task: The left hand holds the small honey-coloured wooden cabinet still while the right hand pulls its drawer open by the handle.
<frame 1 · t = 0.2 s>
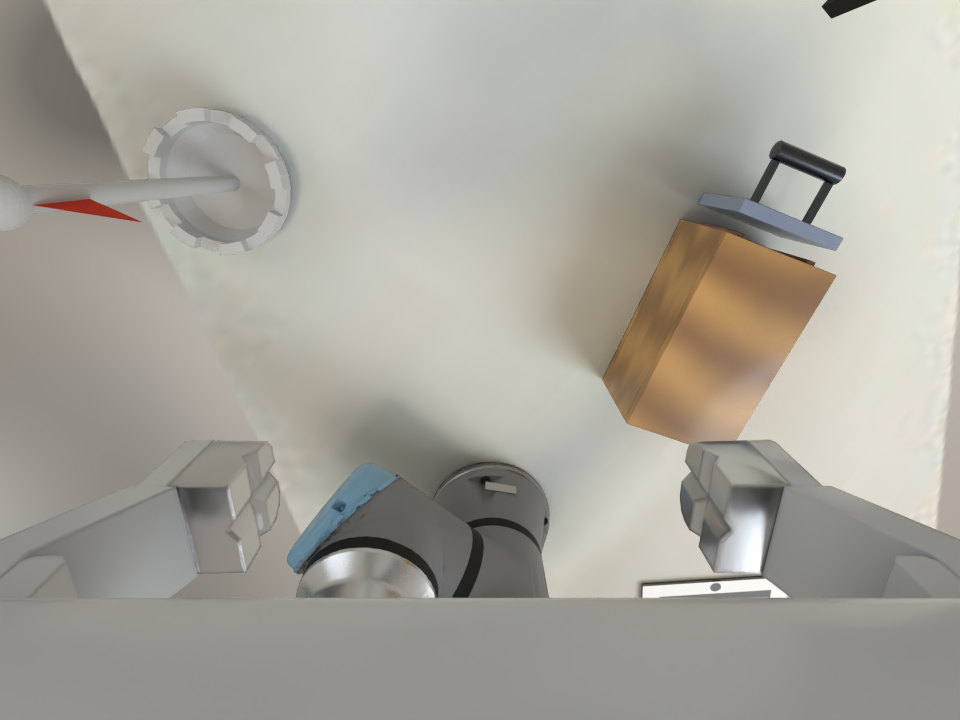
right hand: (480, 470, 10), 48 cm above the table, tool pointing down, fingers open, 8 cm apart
tablet: (705, 661, 78), on the table
drawer: (734, 276, 52), point 5 cm above the table, slide at 1.9 cm
flag stand: (237, 182, 54), on the table
cabinet: (683, 320, 59), on the table
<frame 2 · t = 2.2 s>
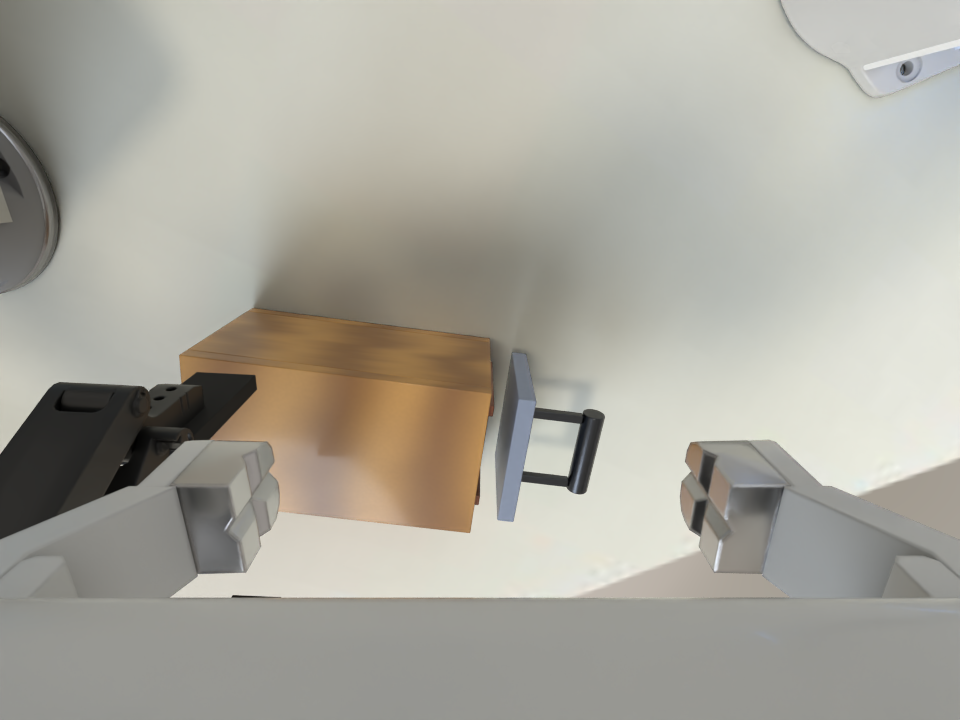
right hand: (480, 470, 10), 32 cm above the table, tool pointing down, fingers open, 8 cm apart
drawer: (438, 423, 40), point 6 cm above the table, slide at 1.9 cm
cabinet: (368, 383, 45), on the table
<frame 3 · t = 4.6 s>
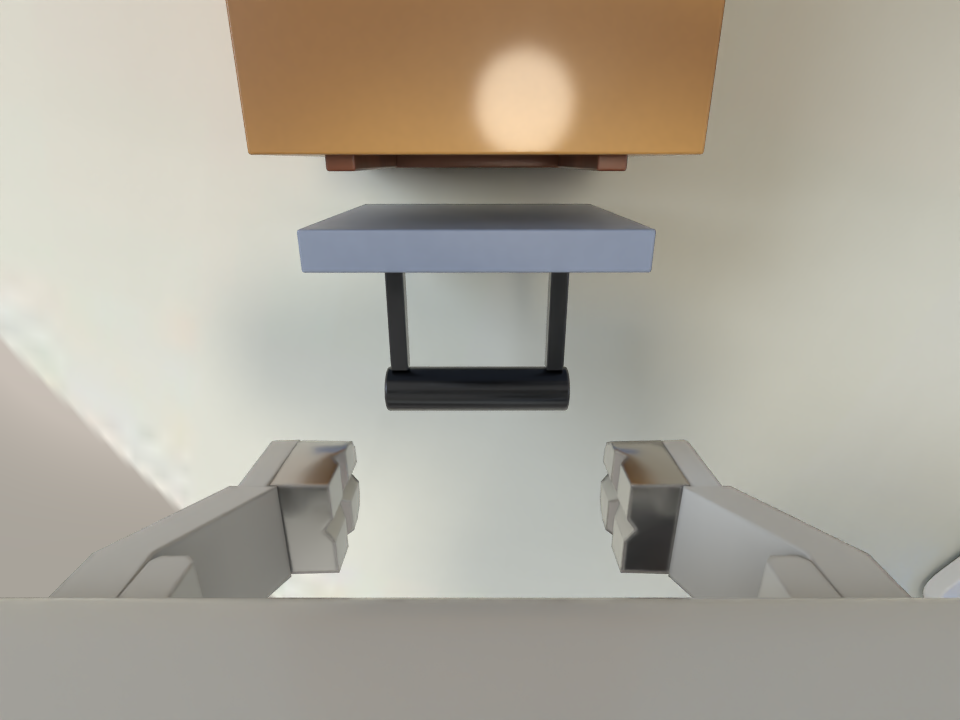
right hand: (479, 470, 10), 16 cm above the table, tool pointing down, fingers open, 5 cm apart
drawer: (476, 45, 17), point 6 cm above the table, slide at 1.9 cm
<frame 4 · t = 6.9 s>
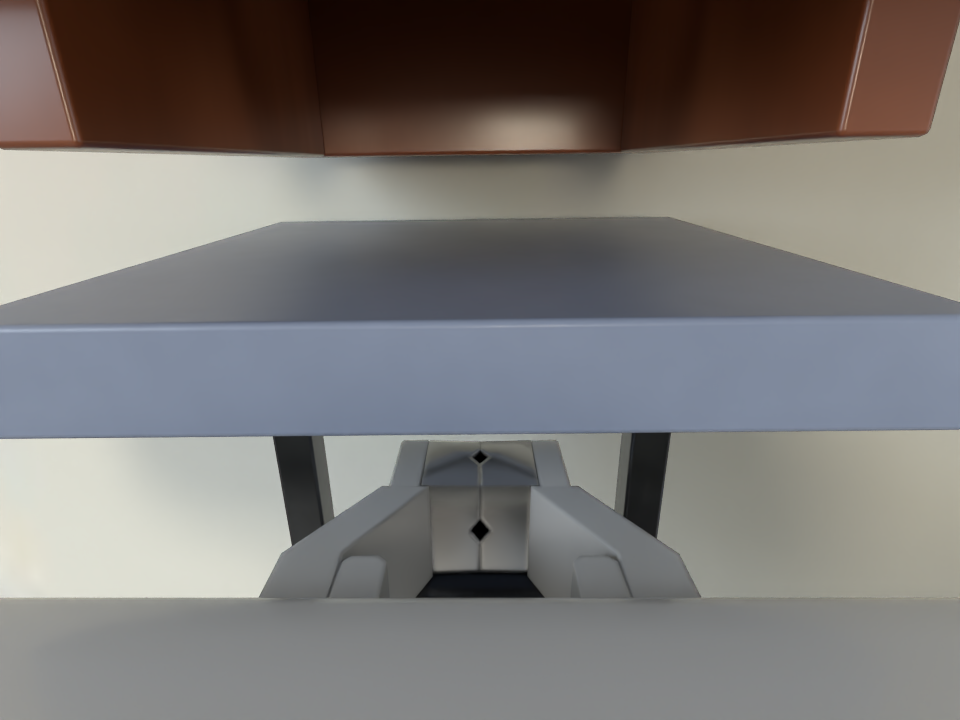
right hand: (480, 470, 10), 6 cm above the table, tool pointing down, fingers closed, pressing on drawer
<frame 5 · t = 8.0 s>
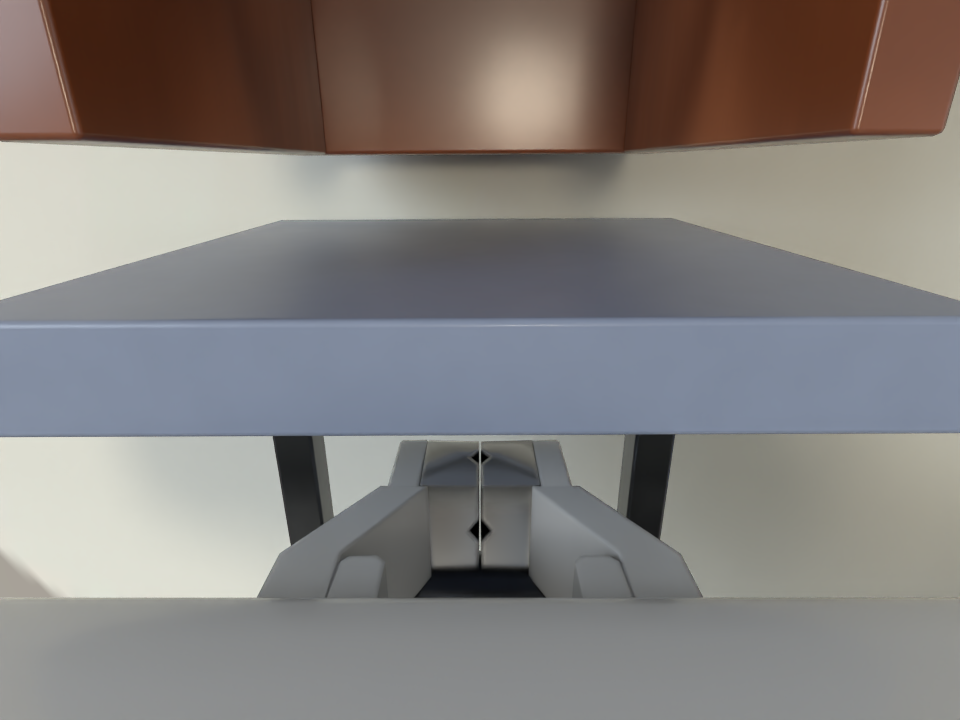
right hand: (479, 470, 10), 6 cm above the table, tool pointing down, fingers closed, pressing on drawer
when the left hand's fingers open (6 cm above the table, at t = 9.9 s): cabinet stays where it is, on the table.
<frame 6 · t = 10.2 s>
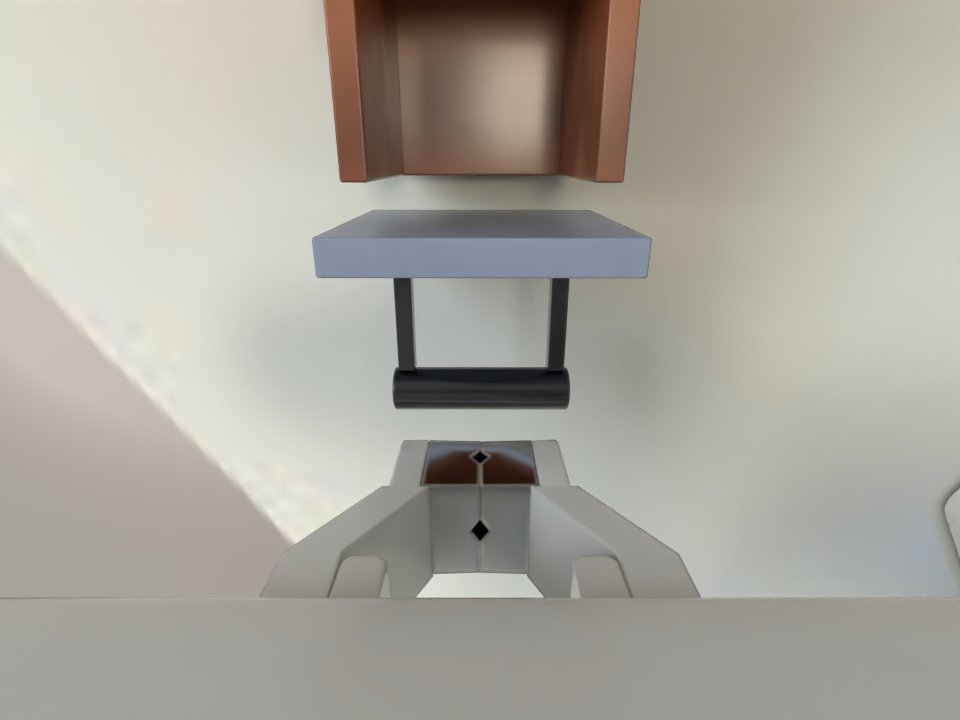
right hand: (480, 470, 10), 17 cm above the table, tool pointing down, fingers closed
drawer: (481, 60, 17), point 5 cm above the table, slide at 7.7 cm
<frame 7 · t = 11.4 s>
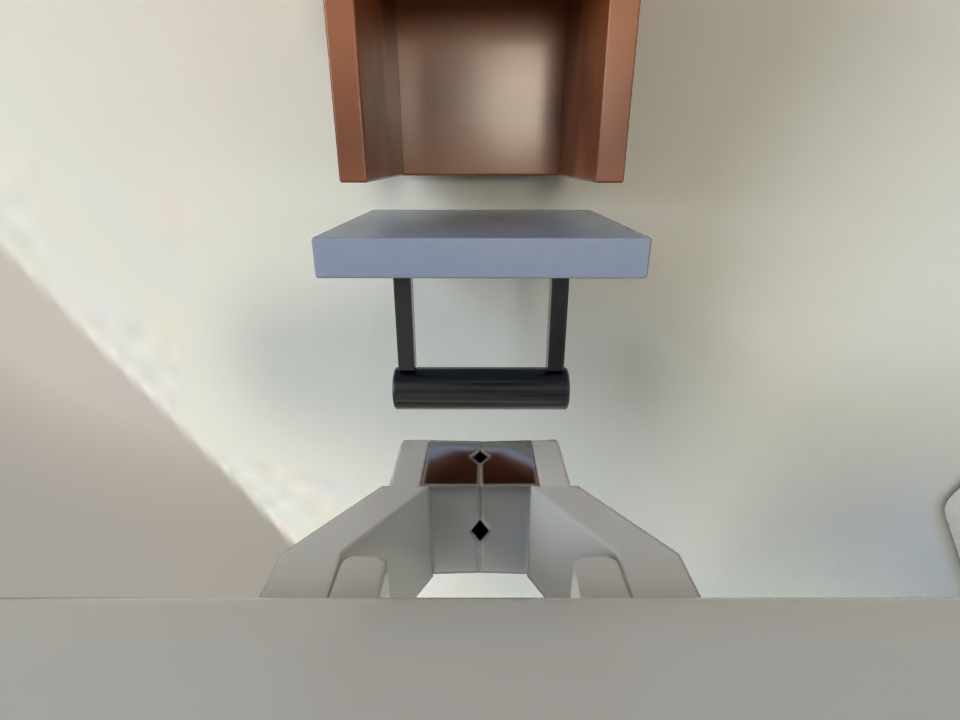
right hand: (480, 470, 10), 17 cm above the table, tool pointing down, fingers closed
drawer: (481, 60, 17), point 5 cm above the table, slide at 7.7 cm
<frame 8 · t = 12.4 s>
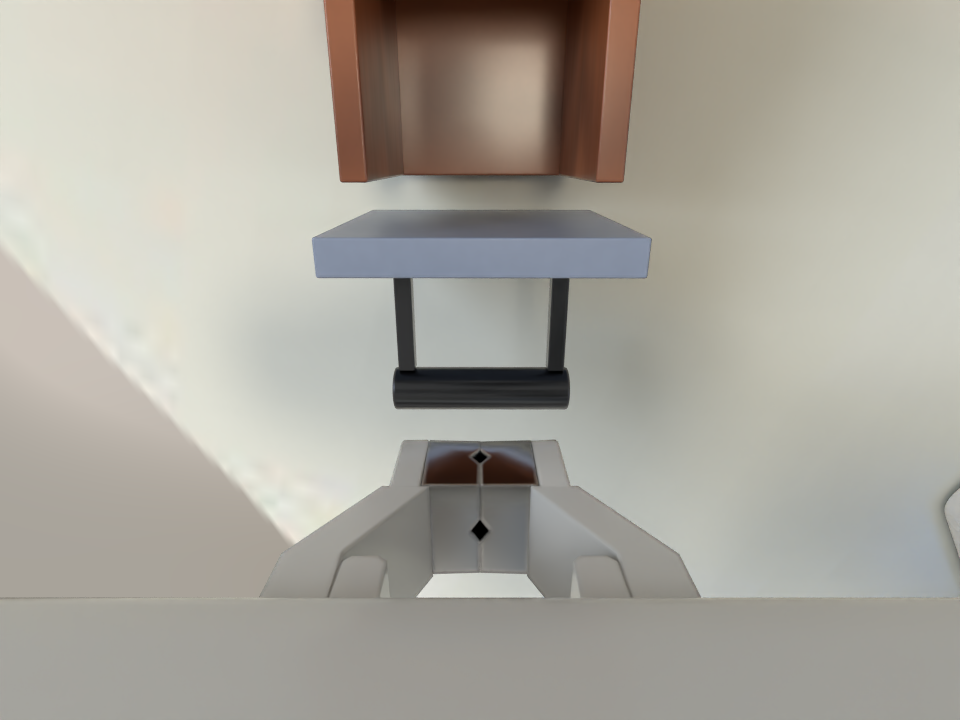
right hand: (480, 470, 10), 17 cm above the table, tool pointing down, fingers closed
drawer: (481, 60, 17), point 5 cm above the table, slide at 7.7 cm
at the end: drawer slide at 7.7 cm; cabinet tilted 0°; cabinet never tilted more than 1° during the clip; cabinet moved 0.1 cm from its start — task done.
